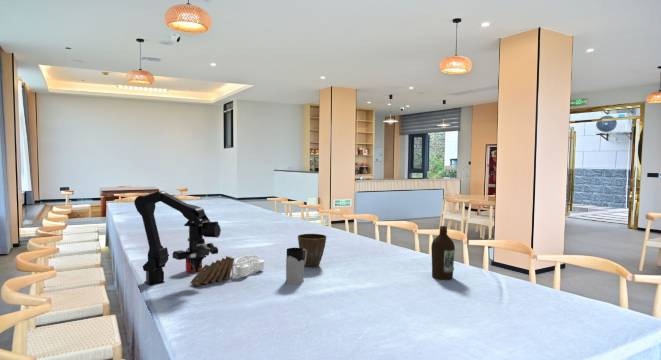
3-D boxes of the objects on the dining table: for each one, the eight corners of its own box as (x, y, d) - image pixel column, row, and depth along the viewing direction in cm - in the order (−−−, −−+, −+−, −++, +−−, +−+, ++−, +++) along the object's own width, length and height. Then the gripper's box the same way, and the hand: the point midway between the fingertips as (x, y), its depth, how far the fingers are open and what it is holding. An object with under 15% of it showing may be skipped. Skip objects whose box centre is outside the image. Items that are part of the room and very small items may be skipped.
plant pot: (327, 263, 219) (327, 234, 218) (324, 270, 204) (324, 239, 203) (300, 262, 220) (300, 233, 219) (295, 269, 205) (295, 238, 205)
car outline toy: (240, 281, 185) (240, 265, 185) (222, 277, 191) (222, 261, 191) (268, 271, 203) (268, 256, 202) (251, 268, 208) (251, 253, 208)
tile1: (195, 284, 174) (211, 265, 180) (189, 281, 178) (205, 263, 183) (198, 286, 175) (213, 268, 181) (192, 284, 179) (207, 266, 184)
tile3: (210, 281, 180) (222, 261, 183) (205, 279, 183) (216, 259, 187) (214, 283, 181) (225, 263, 185) (208, 281, 184) (219, 261, 188)
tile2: (203, 282, 177) (217, 263, 181) (198, 280, 181) (212, 261, 185) (206, 285, 178) (220, 265, 182) (201, 282, 182) (215, 263, 186)
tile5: (225, 279, 185) (230, 257, 186) (220, 277, 188) (225, 256, 190) (228, 280, 186) (234, 258, 187) (223, 277, 190) (229, 256, 191)
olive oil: (425, 277, 193) (427, 225, 192) (441, 274, 199) (442, 223, 198) (443, 283, 185) (444, 228, 184) (458, 279, 190) (460, 226, 189)
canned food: (191, 274, 196) (191, 251, 195) (182, 271, 200) (182, 249, 200) (205, 270, 202) (205, 248, 201) (195, 268, 206) (195, 246, 206)
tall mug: (281, 283, 182) (281, 250, 182) (298, 275, 195) (298, 244, 194) (297, 286, 178) (297, 252, 178) (313, 278, 191) (314, 246, 190)
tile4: (217, 280, 182) (227, 259, 185) (212, 278, 186) (221, 257, 188) (221, 281, 183) (230, 260, 186) (215, 279, 187) (225, 258, 190)
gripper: (184, 241, 164) (184, 280, 165) (224, 236, 177) (224, 271, 178) (171, 238, 172) (171, 274, 172) (211, 233, 185) (211, 266, 186)
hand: (196, 272), depth 177 cm, fingers closed
